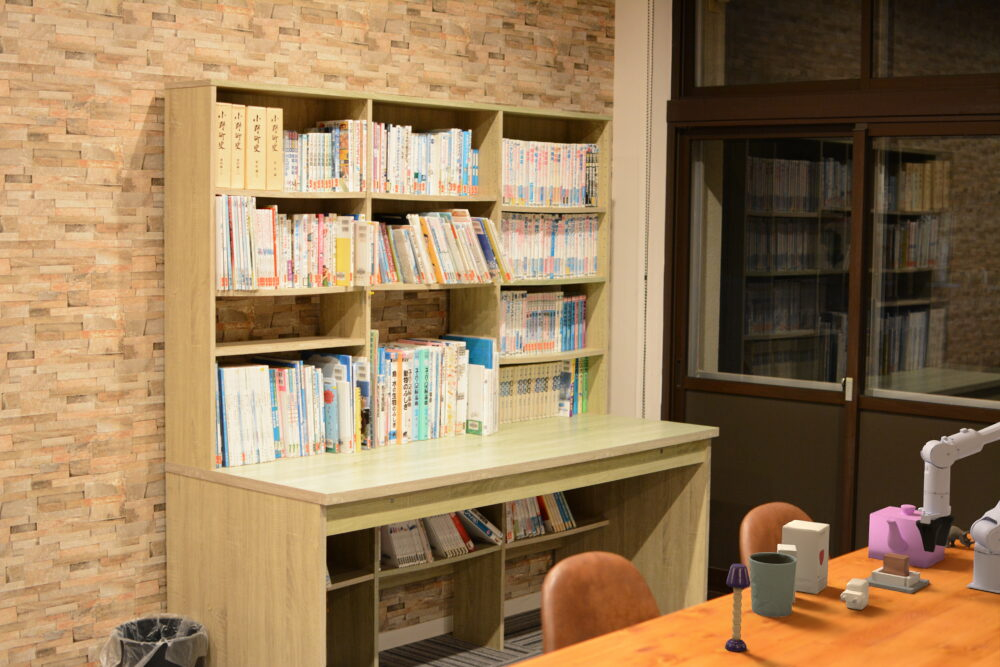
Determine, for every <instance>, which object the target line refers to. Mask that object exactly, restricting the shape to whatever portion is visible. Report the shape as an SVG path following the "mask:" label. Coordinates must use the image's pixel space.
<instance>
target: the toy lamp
mask: <svg viewBox="0 0 1000 667" xmlns="http://www.w3.org/2000/svg"><path fill="white" fill-rule="evenodd" d="M749 574H750V573H749V571H748V568H747V565H746V564H743V563H732V564H731V566H730V569H729V572H728V575H727V579H726V585H727V586H728V587H731V588H732V590H733V595H732V599H733V601H732V620H731V621H732V625H731V627H732V628H731V629H732V633H731V638H729V639H728V640H727V641H726V642H725V645H724V648H725V649H726V650H727V651H731V652H744V651H746V650H747V649H748V647H747V644H746V642H745V641H744V640H743V639H741V637H742V633H741V630H742V625H741V624H742V606H743V604H742V600H743V594H742V592H743V589H745V588H749V587H751V582H750V581H751V579H750V576H749Z"/></svg>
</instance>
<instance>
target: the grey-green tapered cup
mask: <svg viewBox="0 0 1000 667" xmlns="http://www.w3.org/2000/svg"><path fill="white" fill-rule="evenodd" d="M748 561H749V562H748V563H749V564H748V565H749V571H750V573H749V574H750V576H749V579H750V588H751V589H750V592H751V593H750V599H751V602H750V603H751V611H752V612H753V613H754V614H757V615H758V616H762V617H768V618H784V617H788V616H791V614H792V611H793V603H792V600H793V591H794V580H795V578H794V577H795V571H796V563H797V559H796V558H795V557H793V556H790V555H787V554H782V553H777V552H771V551H765V552H755V553H752V554H750V555H749V556H748Z"/></svg>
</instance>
